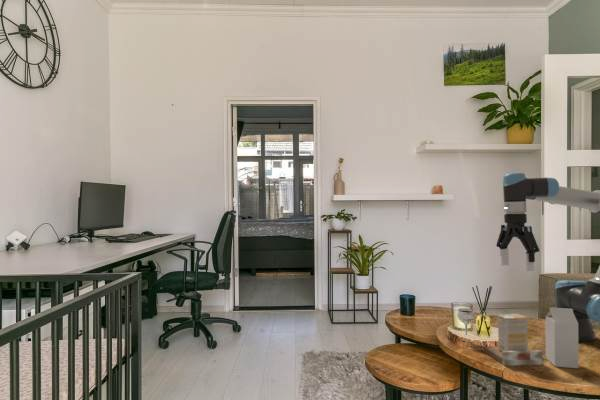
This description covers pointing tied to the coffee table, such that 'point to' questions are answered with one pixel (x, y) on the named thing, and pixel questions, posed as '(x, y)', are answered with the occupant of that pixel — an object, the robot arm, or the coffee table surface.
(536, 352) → the grey flat box
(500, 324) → the supplement box
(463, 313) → the wineglass
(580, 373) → the coffee table surface
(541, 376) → the coffee table surface
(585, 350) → the coffee table surface
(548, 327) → the milk carton
